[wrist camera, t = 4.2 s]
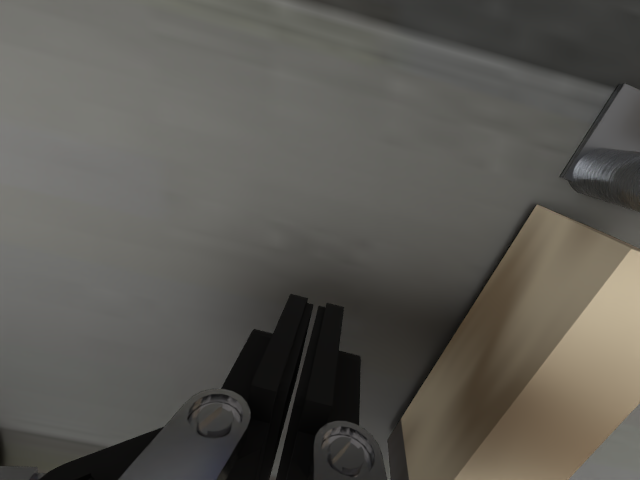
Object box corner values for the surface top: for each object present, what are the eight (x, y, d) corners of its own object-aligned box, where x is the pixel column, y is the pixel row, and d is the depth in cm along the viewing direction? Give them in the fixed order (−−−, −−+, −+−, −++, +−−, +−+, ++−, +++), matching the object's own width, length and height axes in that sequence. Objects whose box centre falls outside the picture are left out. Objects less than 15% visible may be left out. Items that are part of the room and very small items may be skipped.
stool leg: (537, 204, 11) (631, 248, 7) (608, 234, 11) (740, 294, 7) (387, 439, 14) (397, 553, 10) (442, 461, 14) (471, 583, 11)
